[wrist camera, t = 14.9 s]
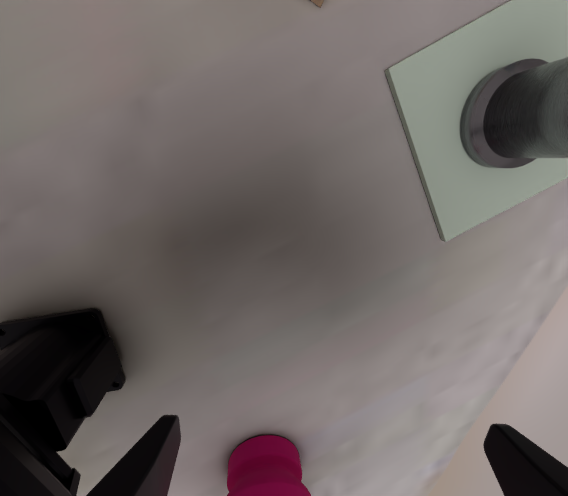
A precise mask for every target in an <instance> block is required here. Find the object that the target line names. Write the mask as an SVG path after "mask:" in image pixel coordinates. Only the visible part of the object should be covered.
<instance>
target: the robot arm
mask: <svg viewBox="0 0 568 496" xmlns="http://www.w3.org/2000/svg"><path fill="white" fill-rule="evenodd" d="M90 315H93V316H94V317H95V318H91V317H90ZM2 329H3V330H4V331H5V332H4V331H3V330H2ZM0 349H1V350H0V496H76V494H77V489H78V485H79V481H80V476H81V475H80V473H79V472H78V471H77V470H76V469H75V468H72V469H71V467H70V466H69V465H68V464H67V463H66V462H65V461H64V460H63V459H62V458H61V457H60V456H59V454H58V453H57V451H62V450H65V449H66V448H67V446H68V445H69V443H70V441H71V440H72V438H73V437H74V435H75V433H76V432H77V430H78V429H79V427H80V425H81V424H82V422H83V421H84V419H85V418H87V417H91V416H92V414H93V413H94V412H95V410H96V408H97V407H98V405H99V404H100V402H101V400H102V399H103V397H104V395H105V394H106V392H110V391H115V390H119V389H121V388H122V387H123V385H124V383H125V378H124V375H123V372H122V370H121V367H122V365H121V362H120V360H119V357H118V354H117V351H116V349H115V346H114V343H113V340H112V338H111V337H110V336H109V334H108V331H107V328H106V325H105V323H104V320H103V317H102V314H101V312H100V311H99V310H97V309H94V308H91V309H85V310H78V311H72V312H65V313H59V314H52V315H46V316H40V317H33V318H27V319H20V320H14V321H8V322H2V323H0ZM115 382H118V383H115ZM180 441H181V433H180V424H179V417H178V416H177V415H164V416H162V417H161V418H160V419H159V420H158V421H157V422H156V423H155V424H154V425H153V426H152V427H151V428H150V429H149V430H148V431H147V432H146V433H145V434H144V436H143V437H142V438H141V439H140V440H139V441H138V442H137V443H136V444H135V445H134V446H133V447H132V448H131V449H130V450H129V451H128V452H127V453H126V454H125V455H124V457H123V458H122V459H121V460H120V461H119V462H118V463H117V464H116V465H115V466H114V467H113V468H112V469H111V470H110V471H109V472H108V473H107V474H106V475H105V476H104V478H103V479H102V480H101V481H100V482H99V483H98V484H97V485H96V486H95V487H94V488H93V489H92V490H91V491H90V492H89V493H88V494H87V495H86V496H167V494H168V490H169V486H170V482H171V478H172V474H173V470H174V466H175V462H176V458H177V454H178V450H179V446H180ZM484 451H485V453H486V456H487V458H488V460H489V462H490V465H491V467H492V469H493V471H494V473H495V476H496V478H497V480H498V482H499V484H500V487H501V489H502V491H503V493H504V496H568V467H566V466H565V465H563V464H562V463H561V462H559V461H558V460H556V459H555V458H554V457H553V456H551V455H550V454H548V453H547V452H546V451H544V450H543V449H542V448H540V447H539V446H537V445H536V444H534V443H533V442H532V441H530V440H529V439H528V438H526V437H525V436H524V435H522V434H520V433H519V432H518V431H517V430H515V429H514V428H512V427H511V426H509V425H506V424H492V425H491V426H490V428H489V431H488V433H487V436H486V438H485V441H484Z"/></svg>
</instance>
